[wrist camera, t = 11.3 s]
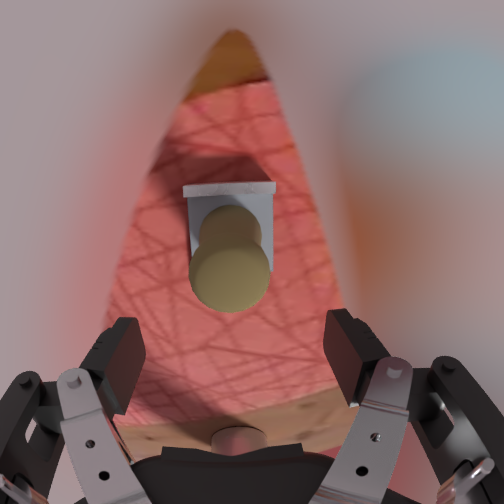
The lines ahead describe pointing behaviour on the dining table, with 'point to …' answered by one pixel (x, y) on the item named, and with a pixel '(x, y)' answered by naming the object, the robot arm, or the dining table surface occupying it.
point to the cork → (229, 261)
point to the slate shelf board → (253, 202)
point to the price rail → (229, 188)
